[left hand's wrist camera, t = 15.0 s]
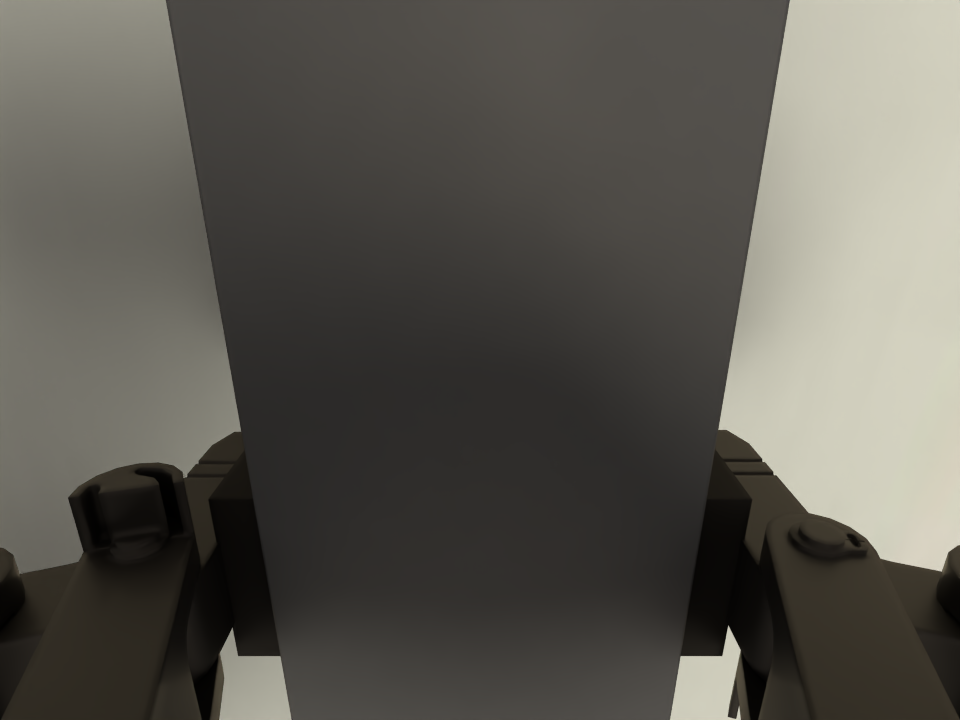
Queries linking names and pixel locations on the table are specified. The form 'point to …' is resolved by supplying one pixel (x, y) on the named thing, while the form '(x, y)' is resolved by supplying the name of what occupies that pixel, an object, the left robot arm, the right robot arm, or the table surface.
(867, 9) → the table surface
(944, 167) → the table surface
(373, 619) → the post
